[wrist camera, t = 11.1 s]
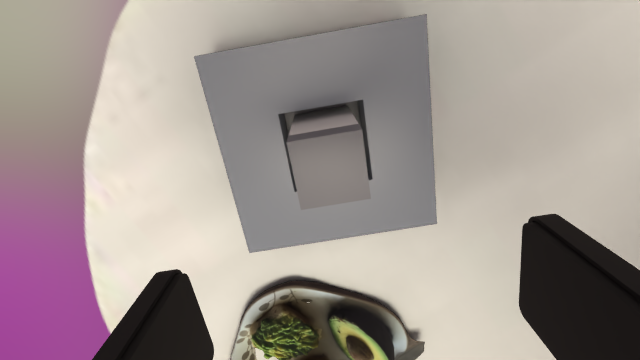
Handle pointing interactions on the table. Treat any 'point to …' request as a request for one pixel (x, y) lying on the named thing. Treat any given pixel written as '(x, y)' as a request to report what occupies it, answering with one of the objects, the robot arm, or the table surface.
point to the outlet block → (315, 95)
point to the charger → (328, 158)
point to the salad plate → (321, 326)
